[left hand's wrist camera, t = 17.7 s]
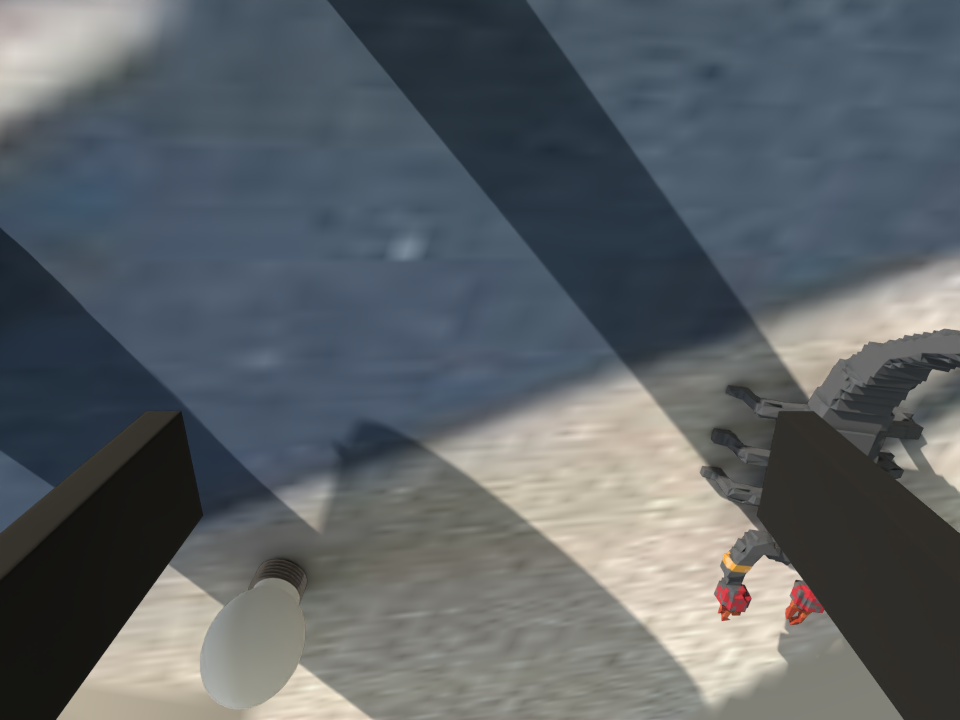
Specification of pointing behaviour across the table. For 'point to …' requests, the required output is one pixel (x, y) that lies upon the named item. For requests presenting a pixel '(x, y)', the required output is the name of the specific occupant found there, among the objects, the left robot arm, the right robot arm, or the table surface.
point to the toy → (853, 413)
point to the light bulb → (256, 638)
